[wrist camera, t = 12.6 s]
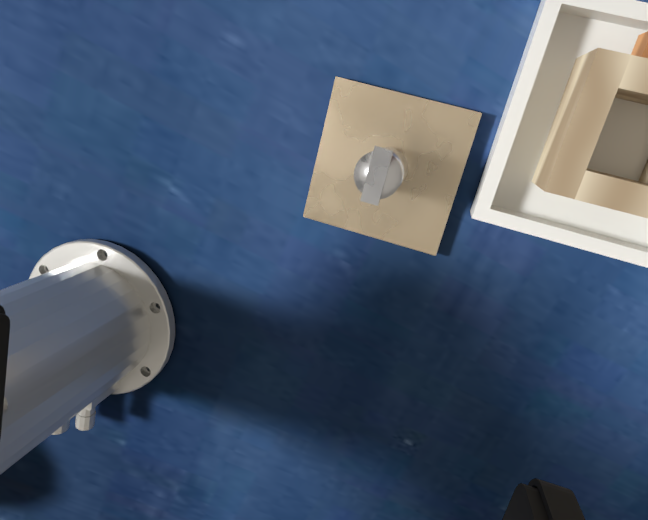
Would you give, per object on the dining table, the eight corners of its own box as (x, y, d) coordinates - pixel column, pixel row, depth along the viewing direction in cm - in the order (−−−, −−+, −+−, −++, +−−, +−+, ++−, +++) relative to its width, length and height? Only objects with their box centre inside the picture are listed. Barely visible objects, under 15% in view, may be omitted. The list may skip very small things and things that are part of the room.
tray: (680, 269, 30) (699, 282, 28) (469, 211, 32) (471, 218, 30) (789, 46, 27) (822, 39, 24) (543, -6, 29) (551, -18, 26)
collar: (723, 58, 27) (775, 47, 23) (654, 213, 30) (689, 229, 25) (586, 29, 28) (611, 13, 24) (531, 181, 31) (544, 191, 26)
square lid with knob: (436, 252, 34) (433, 278, 28) (305, 214, 35) (279, 231, 29) (481, 113, 31) (488, 111, 25) (338, 77, 32) (315, 68, 27)
